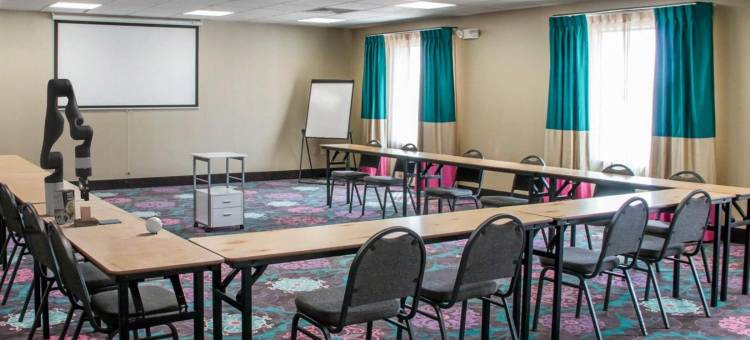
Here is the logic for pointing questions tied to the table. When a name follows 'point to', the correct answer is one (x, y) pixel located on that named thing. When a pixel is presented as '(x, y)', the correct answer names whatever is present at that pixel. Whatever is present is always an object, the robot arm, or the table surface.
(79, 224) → the pocket block
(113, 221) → the pad
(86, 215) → the peg
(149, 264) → the table surface
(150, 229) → the white sphere
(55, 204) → the coffee box
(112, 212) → the table surface
